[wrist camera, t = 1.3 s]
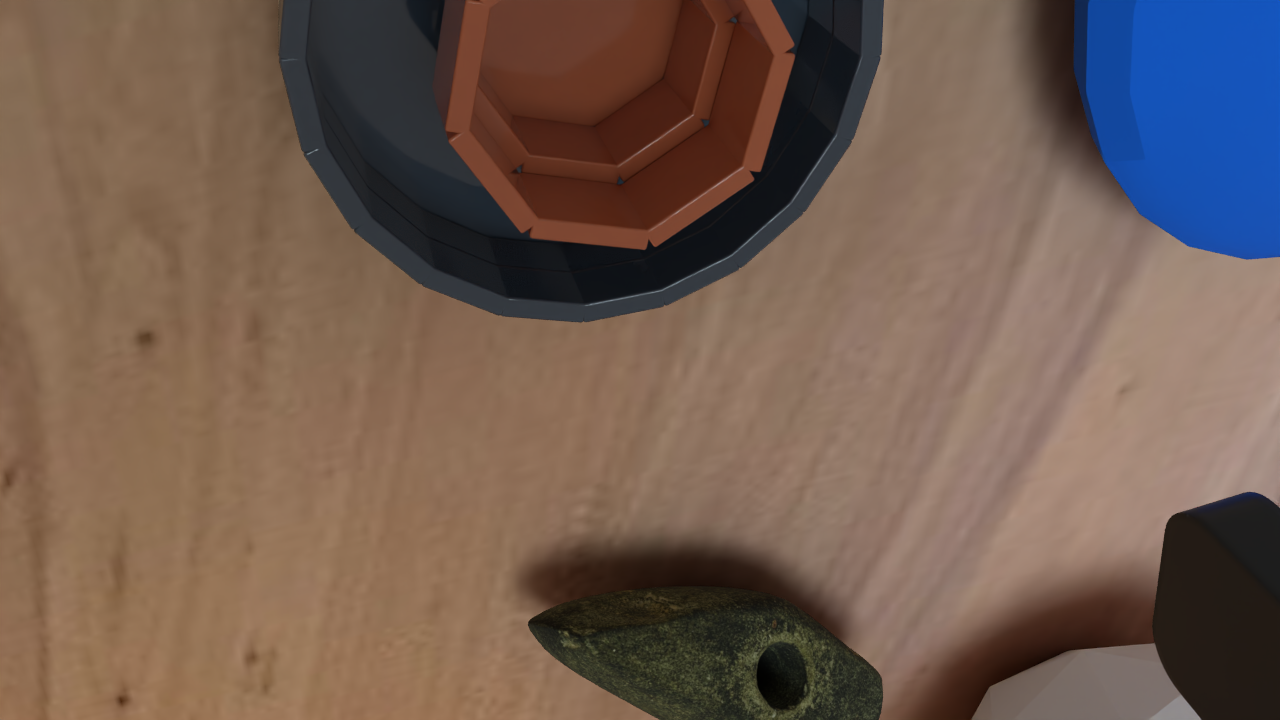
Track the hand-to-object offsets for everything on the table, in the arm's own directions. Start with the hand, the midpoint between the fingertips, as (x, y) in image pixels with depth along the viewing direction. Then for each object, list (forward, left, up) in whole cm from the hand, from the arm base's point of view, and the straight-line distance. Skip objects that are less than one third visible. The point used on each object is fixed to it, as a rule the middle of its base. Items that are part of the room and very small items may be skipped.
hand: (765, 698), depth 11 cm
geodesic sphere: (+25, -21, -19) cm, 38 cm away
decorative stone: (+10, -17, -19) cm, 27 cm away
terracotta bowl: (+2, +1, -18) cm, 19 cm away
